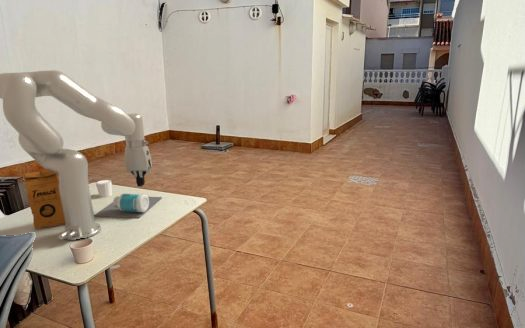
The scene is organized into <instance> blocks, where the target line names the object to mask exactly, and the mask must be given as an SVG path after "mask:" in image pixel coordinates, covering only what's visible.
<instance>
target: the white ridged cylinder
mask: <svg viewBox="0 0 525 328" xmlns="http://www.w3.org/2000/svg"><path fill="white" fill-rule="evenodd" d="M112 184H113V183H112V180H111V179H102V180H98V181H96V182H95V185H96V189H97V192H98V197H99V198H109V197H111V196H113V190H112V189H113V188H112V187H113V185H112Z"/></svg>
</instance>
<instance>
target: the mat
mask: <svg viewBox="0 0 525 328" xmlns="http://www.w3.org/2000/svg"><path fill="white" fill-rule="evenodd" d="M148 198H149V207H148V209H147V210H146V211H145V212H128V211H121V210H119V208H117V207H114V205H113V201H112V202H111V203H109V204H108V205H107V206H105V207H104V208H102V209H101V210H99V211H98V212H96V213H94V218H96V217H97V218H98V217H99V218H100V217H101V218H126V219H127V218H128V219H129V218H130V219H140V218H142V217H143V215H145V214H146V213H147V212H148V211H149V210H150V209H152V208H153V207H154V206H155V205H156V204H157V203H159V202H160V201H161V200H162V198H163V197H162V196H148Z"/></svg>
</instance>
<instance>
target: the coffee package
mask: <svg viewBox="0 0 525 328" xmlns="http://www.w3.org/2000/svg"><path fill="white" fill-rule="evenodd" d="M23 178H24V183H25V188H26V194H27V195H26V196H27V199H28V203H29V207H30V211H31V215H32V216H33V222H32V223H33V227H34V229H36V230H37V229H42V228H43V229H44V228H49V227H57V226H62V225H66V223H65V218H64V213H63V208H62V203H61V198H60V193H59V174H55V173H52V172H50V171H48V170H41V171H40V170H39V171H35V172H27V173H26V172H25V173H23Z"/></svg>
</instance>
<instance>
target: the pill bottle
mask: <svg viewBox="0 0 525 328" xmlns="http://www.w3.org/2000/svg"><path fill="white" fill-rule="evenodd" d="M148 197H149V196H148V195H147V194H140V193H122V194H120V195H119V196H117V195H116V196H115V197H114V198H113V201H112V202H113V205H114V207H117V208H119V210H121V211H128V212H145V211H146V210H147V209H148V207H149V198H148Z"/></svg>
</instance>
